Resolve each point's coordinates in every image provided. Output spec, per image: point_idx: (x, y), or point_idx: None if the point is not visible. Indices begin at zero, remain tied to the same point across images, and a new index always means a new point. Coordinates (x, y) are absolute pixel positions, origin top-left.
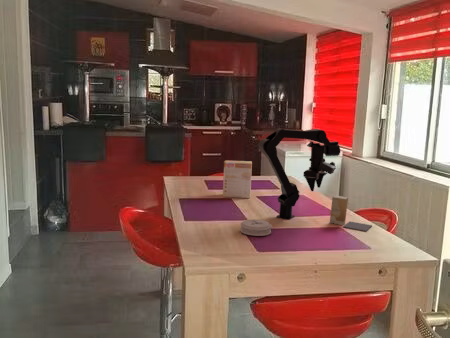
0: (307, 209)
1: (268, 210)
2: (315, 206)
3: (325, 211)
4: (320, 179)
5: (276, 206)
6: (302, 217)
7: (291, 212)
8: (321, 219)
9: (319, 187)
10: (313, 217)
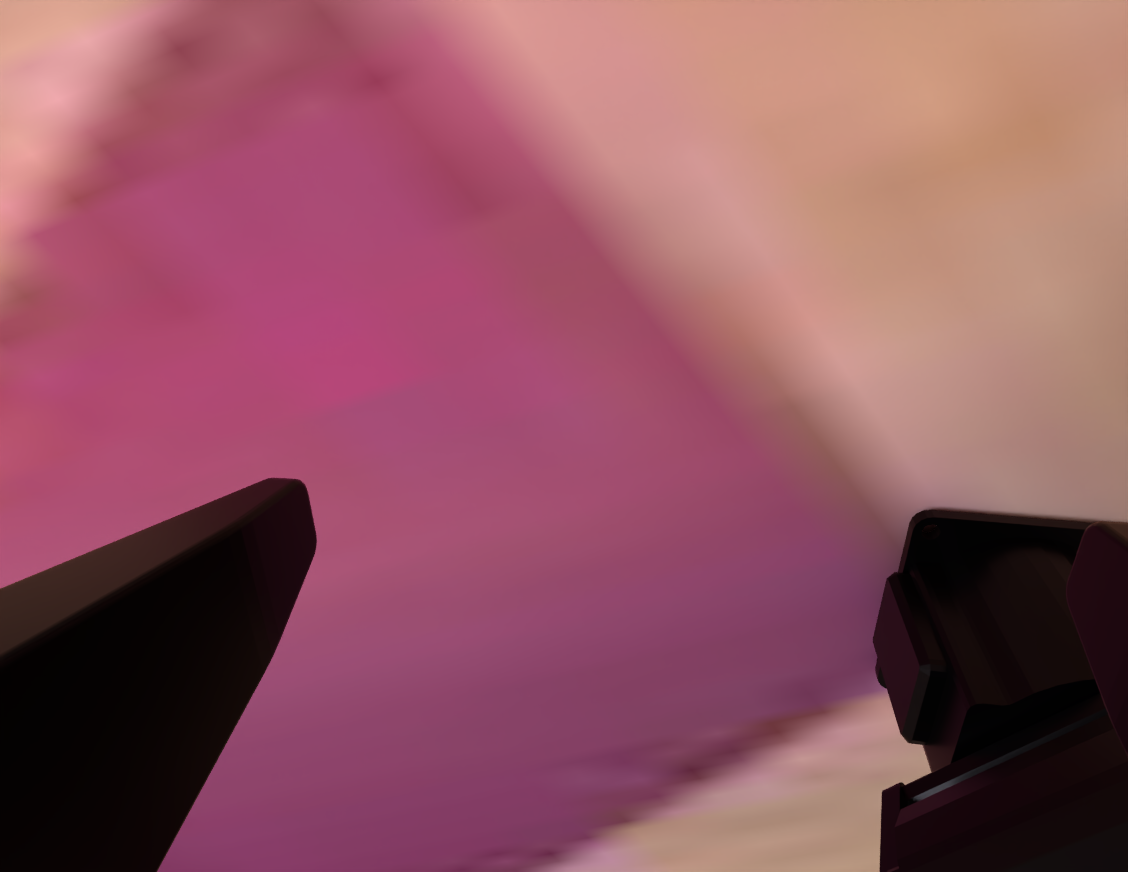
0: (347, 469)
1: (759, 834)
2: (97, 422)
3: (236, 194)
4: (43, 722)
5: (504, 804)
6: (876, 397)
7: (1066, 582)
8: (827, 62)
9: (303, 488)
10: (767, 242)
